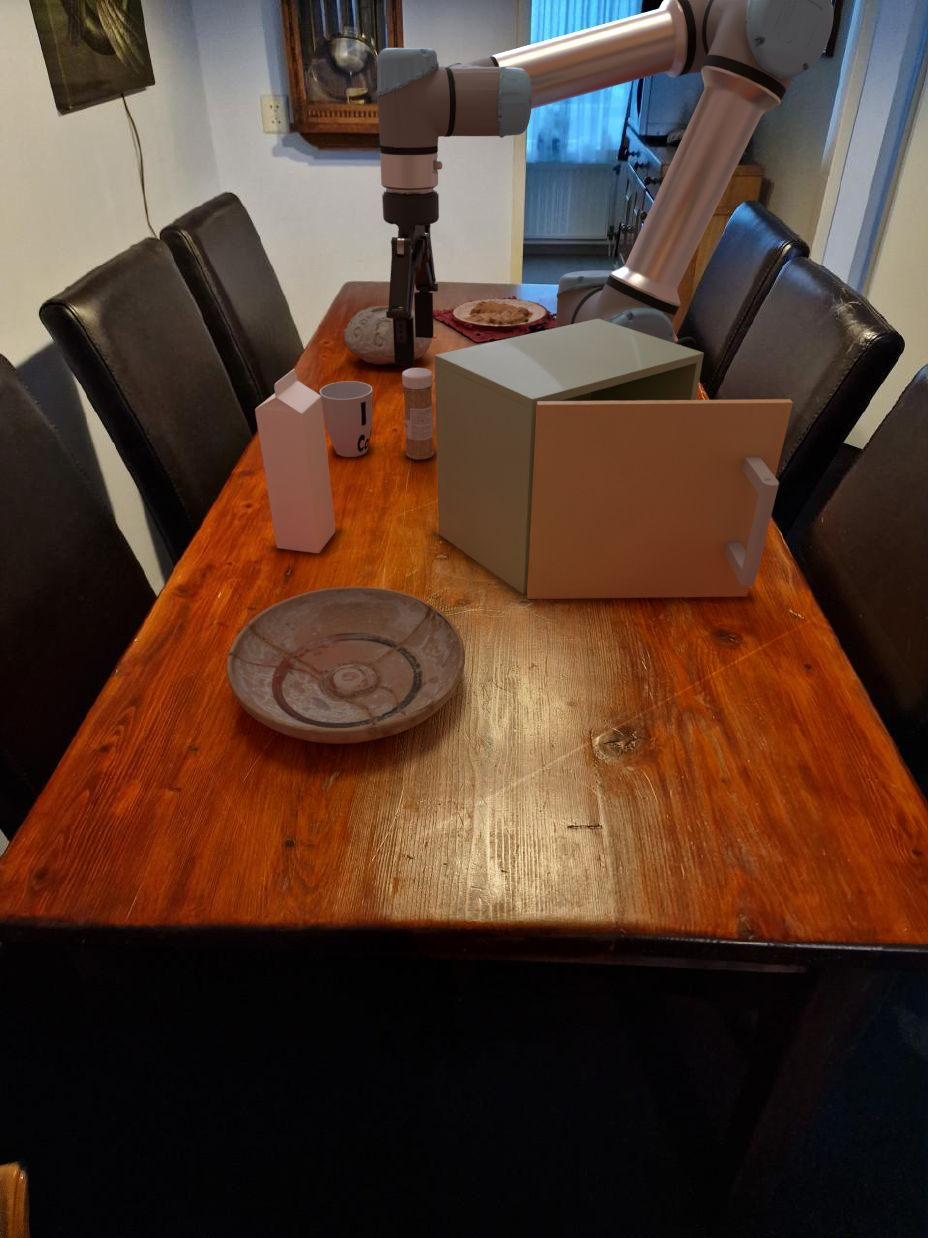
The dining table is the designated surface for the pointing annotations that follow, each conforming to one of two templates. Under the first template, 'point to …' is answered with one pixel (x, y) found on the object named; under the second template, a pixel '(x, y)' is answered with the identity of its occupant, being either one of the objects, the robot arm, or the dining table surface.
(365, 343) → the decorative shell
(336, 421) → the cup
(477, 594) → the dining table surface
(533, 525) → the door
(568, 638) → the dining table surface
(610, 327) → the cabinet
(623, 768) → the dining table surface
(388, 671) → the ceramic bowl
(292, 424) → the milk
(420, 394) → the sprinkles bottle
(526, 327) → the plate with food
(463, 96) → the robot arm
